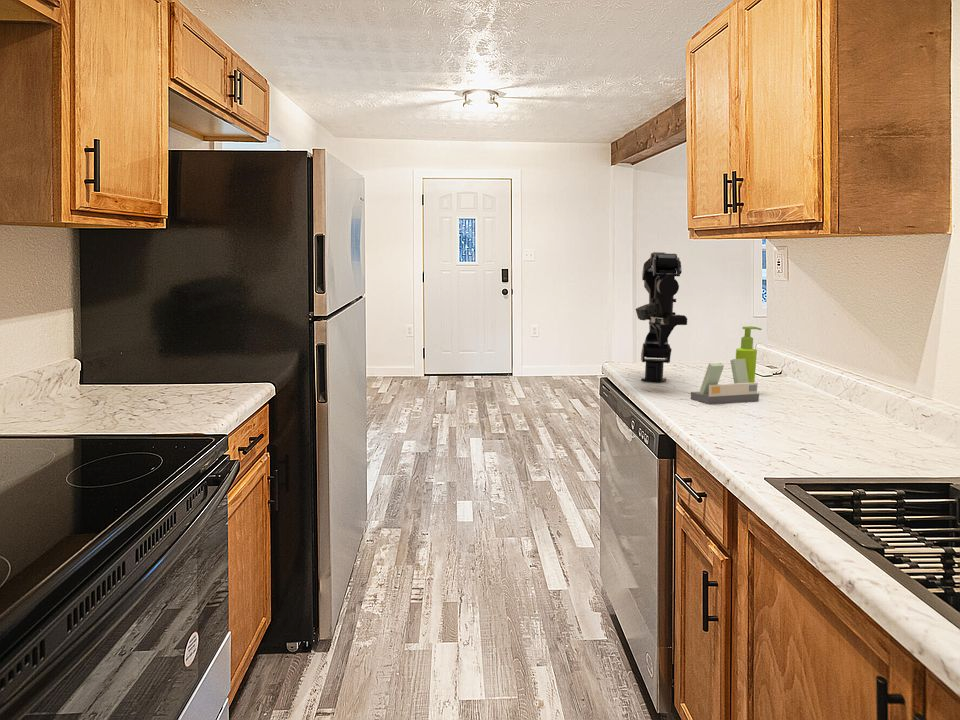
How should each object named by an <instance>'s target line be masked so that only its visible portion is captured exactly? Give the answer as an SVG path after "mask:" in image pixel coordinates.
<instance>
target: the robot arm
mask: <svg viewBox="0 0 960 720" xmlns="http://www.w3.org/2000/svg"><path fill="white" fill-rule="evenodd" d="M649 256H650V257H649V258H647V260H646V261H645V262H644V263H643V266H642V272H641V273H642V275H641V276H642V278H641V280H642V281H643V284H644V285H643V286H644V287H643V288H644V289H645V291H647V293H648V303H646V304H644V305H641V306H639V307H637V308H635V312H636V316H637V319H638V320H639V321H648V325H649V326H648V328H649V330H648V333H646V337H645V339H644V343H642V347H641V352H640V353H641V354H640V360H641V362H642V363H645V366H644V367H645V368H644V369H645V370H644V377H643V378H641V381H645V382H655V383H662V382H664V381H666V380H667V378H665V377H664V363H665V364H666V363H667V364H669V363H671V356H672V355H671V354H672V348H671V346H670V345H671V344H669V337H670V335H671V333H672V332H673V330H674V328H675V327H677V326H687V325H688V318H687V316H686V315H684V314H683V315H682V314H677V313H676V312H674V303H677V298H674V297H675V295H676V294H677V293H678V292H679V289H680V285H679V282H678V280H677V279H676V278H675V277H681V274H682V261H681V260H680V258H679V257H678V254H677V253H667V252H662V251H661V252H657V251H656V252H655V251H653V252H651V253H650V255H649Z"/></svg>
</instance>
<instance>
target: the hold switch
mask: <svg viewBox="0 0 960 720" xmlns="http://www.w3.org/2000/svg"><path fill="white" fill-rule="evenodd" d="M730 367H731V373H732V379H733V384H736V383H749V380H748V374H747V368H746V362H745V359H736V358H734V359H730Z"/></svg>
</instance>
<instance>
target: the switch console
mask: <svg viewBox="0 0 960 720" xmlns="http://www.w3.org/2000/svg"><path fill="white" fill-rule="evenodd" d="M758 384H759V383H758V382H756V381H755V383H736V384H734V383H721V384H719V383H718V384H717V385H709V394H702V393H701V392H700V391H690V400H693V401H695V402H696V401H697V402H699V403H703V404H708V405H715V404H716V405H717V404H731V403H732V404H733V403H744V402H745V403H747V402H759V400H760V393H758V387H759V385H758Z"/></svg>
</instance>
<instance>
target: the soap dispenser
mask: <svg viewBox="0 0 960 720" xmlns="http://www.w3.org/2000/svg"><path fill="white" fill-rule="evenodd" d="M741 329H743V330H744V336H742V337H741V338H740V340H741V341H740V347H739V348H736V350H735V359H745V362H746V368H747V374H748V380H749V383H755V382H756V381H755V380H756V368H757V367H756V366H757V365H756V364H757V353H758V352H757V351H758V350H757V349H755V348H754V347H753V346H754V338H753V337H752V336H751V331H752V330H758V331H762V330H763V328H761V327H757V326H742V328H741Z"/></svg>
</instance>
